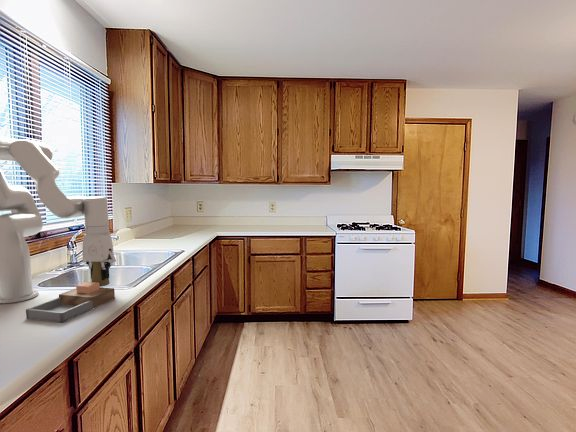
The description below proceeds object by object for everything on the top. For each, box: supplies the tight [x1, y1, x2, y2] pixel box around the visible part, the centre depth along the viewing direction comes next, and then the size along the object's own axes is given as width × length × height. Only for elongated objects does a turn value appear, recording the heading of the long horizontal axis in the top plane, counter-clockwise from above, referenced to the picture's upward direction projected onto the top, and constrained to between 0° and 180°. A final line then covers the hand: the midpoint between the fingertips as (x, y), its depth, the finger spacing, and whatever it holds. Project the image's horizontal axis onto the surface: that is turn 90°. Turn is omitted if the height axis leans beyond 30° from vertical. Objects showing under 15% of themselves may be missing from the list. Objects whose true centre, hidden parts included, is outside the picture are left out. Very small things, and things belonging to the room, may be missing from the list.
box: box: [25, 296, 93, 324], centre depth 109 cm, size 14×12×3 cm
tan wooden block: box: [58, 286, 116, 309], centre depth 119 cm, size 14×10×4 cm
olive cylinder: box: [91, 262, 111, 287], centre depth 125 cm, size 6×6×11 cm
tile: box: [75, 281, 100, 294], centre depth 119 cm, size 5×5×2 cm
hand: (100, 278), depth 125 cm, fingers closed on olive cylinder, 3 cm apart
